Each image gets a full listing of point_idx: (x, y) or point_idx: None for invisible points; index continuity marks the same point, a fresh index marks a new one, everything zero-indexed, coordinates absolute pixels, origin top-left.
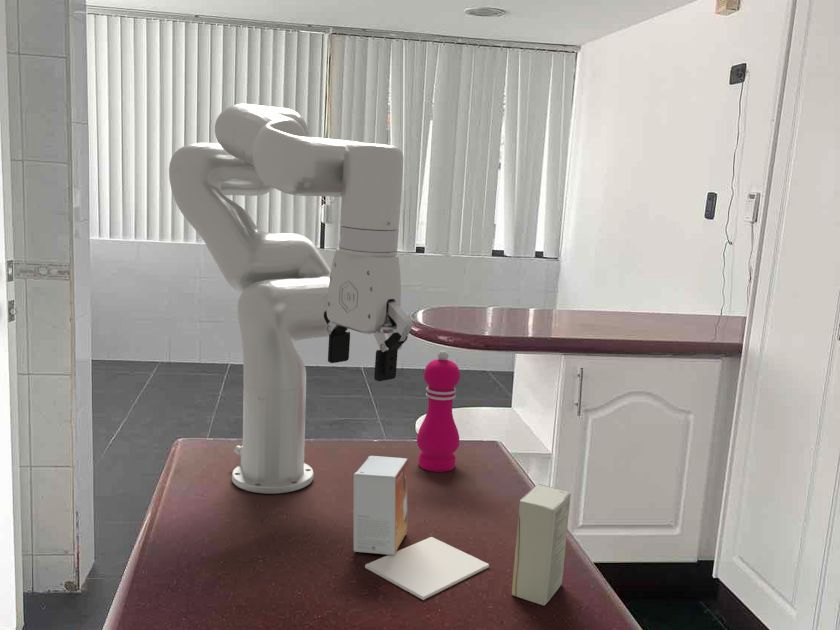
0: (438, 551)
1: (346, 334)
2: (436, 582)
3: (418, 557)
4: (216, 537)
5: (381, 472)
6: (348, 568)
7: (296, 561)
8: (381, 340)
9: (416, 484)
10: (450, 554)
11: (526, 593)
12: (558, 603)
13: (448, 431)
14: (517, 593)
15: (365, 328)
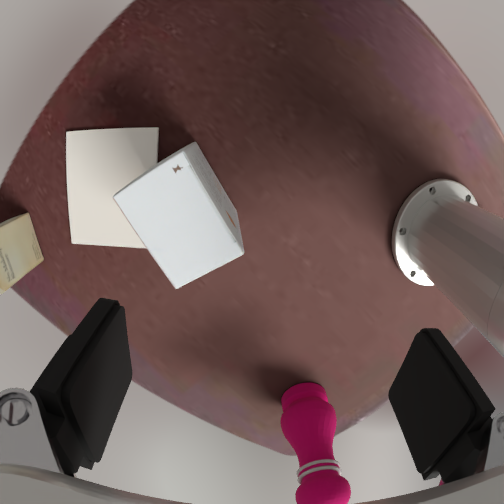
0: (123, 224)
1: (429, 464)
2: (76, 165)
3: None
4: (364, 53)
5: (146, 194)
6: (173, 110)
7: (236, 73)
8: (9, 441)
9: (286, 350)
10: (110, 229)
11: (14, 217)
12: None
13: (290, 433)
14: (22, 214)
15: (19, 500)
